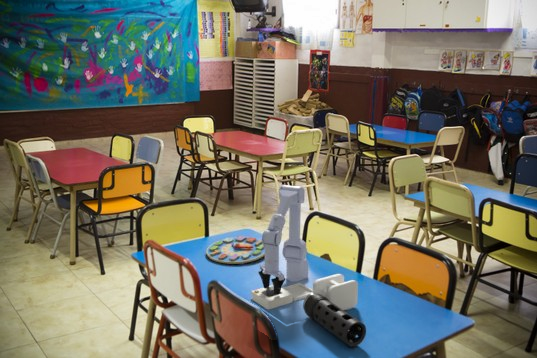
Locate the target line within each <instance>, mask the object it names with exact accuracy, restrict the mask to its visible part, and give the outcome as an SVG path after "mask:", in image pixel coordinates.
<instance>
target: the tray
mask: <svg viewBox="0 0 537 358" xmlns="http://www.w3.org/2000/svg"><path fill="white" fill-rule="evenodd" d="M282 288H283V289H284V290H286V291H288V292H289V293H291V294H292V301H294V302H296V301H299V300H303V299H305V298H306V297H307V296H308V295H309V294H311V293H313V288H310V287H309V286H306V285H305V284H303V283H301V282H298V283H295V284H294V283H293V284H291V285H287V286H284V287H283V286H282Z"/></svg>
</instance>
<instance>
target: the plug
mask: <svg viewBox="0 0 537 358" xmlns="http://www.w3.org/2000/svg"><path fill="white" fill-rule="evenodd" d="M270 286H271V285H270ZM278 295H279V294H278ZM266 296H267V297H272V296H275V294H274V287H273V286H271V287H267V288H266Z"/></svg>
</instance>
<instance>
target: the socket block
mask: <svg viewBox="0 0 537 358" xmlns="http://www.w3.org/2000/svg"><path fill="white" fill-rule="evenodd" d="M271 286H273V284H271V285H269V287H271ZM250 292H251V293H250V294H251V296H250V298H251V301H254V302H255V303H257V304H259V305H260V306H262V307H263V308H265V309H266V310H272V309H274V308H278V307H281V306H284V305H288V304H291V303H293V300H292V294H291V293H289V292H288V291H286V290H284V289H283V287H281V291H280V294H279V295H275V296H272V297H267V296H266V288H264V287H261V288H258V289H253V290H251V291H250Z"/></svg>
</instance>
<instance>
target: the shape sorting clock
mask: <svg viewBox="0 0 537 358" xmlns="http://www.w3.org/2000/svg"><path fill="white" fill-rule="evenodd" d="M205 253H206V256H207V257H208V258H209V259H210V260H212V261H214V262H217V263H221V264H228V265H229V264H231V265H234V264H239V265H244V264H247V263H250V262H255V261H257V260H259V259H261V258H262V257H265V249H264V248H263V243H262V239H258V238H256V237H253V236H251V237H248V236H243V235H239V236H237V237H225V238H223V239H220V240H217V241H215V242H212V243H211V244H209V246H208V247H207V248H206V251H205Z"/></svg>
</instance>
